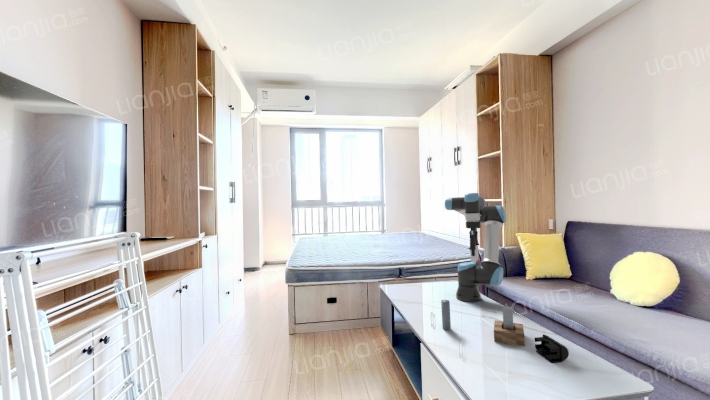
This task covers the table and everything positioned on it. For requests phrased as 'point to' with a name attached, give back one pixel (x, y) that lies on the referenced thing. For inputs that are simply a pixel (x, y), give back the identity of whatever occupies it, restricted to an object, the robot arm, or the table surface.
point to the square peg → (508, 318)
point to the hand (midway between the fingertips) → (474, 259)
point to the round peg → (446, 314)
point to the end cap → (551, 349)
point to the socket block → (509, 334)
